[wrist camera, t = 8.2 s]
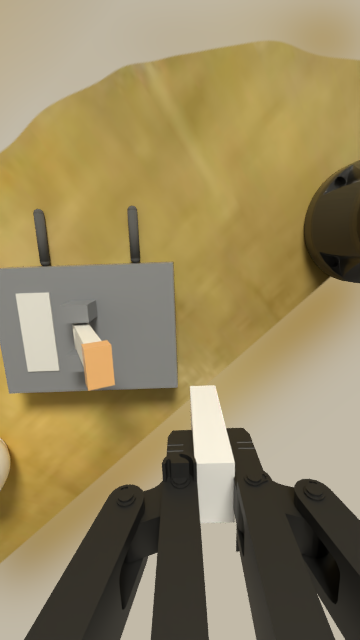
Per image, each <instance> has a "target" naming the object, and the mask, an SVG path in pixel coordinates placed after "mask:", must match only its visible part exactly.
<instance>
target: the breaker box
mask: <svg viewBox="0 0 360 640" xmlns="http://www.w3.org/2000/svg"><path fill="white" fill-rule="evenodd" d="M73 323H89V325H90V326H91V328H92V329H93V330H94V332H95V333H96V334H97V335H98V337H99V338H100V339H101V341H105V340H108V342H109V343H110V344H111V347H112V358H113V369H114V380H115V385H113V386H108V387H103V388H99V389H94V390H120V389H148V388H176V387H178V372H177V346H176V320H175V293H174V267H173V262H152V263H123V264H94V265H65V266H37V267H9V268H0V345H1V350H2V356H3V362H4V367H5V373H6V378H7V384H8V390H9V393H35V392H63V391H88V388H87V386H86V382H85V373H84V367H83V364H82V362H81V359H80V357H79V355H78V352H77V350H76V349H75V343H74V335H73V327H72V324H73ZM90 391H91V390H90Z"/></svg>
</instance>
